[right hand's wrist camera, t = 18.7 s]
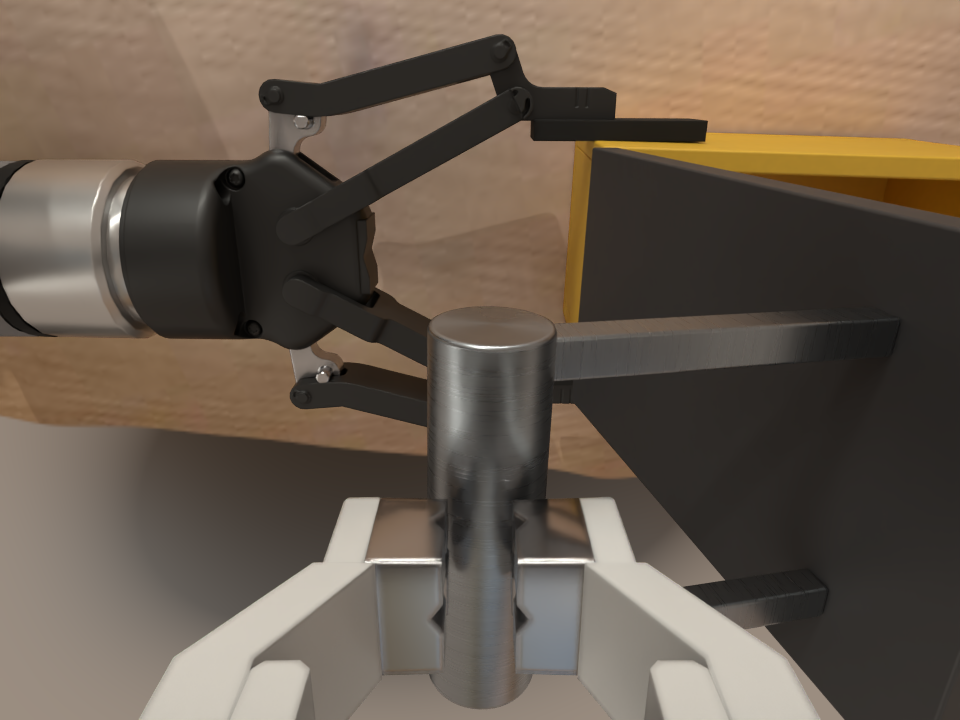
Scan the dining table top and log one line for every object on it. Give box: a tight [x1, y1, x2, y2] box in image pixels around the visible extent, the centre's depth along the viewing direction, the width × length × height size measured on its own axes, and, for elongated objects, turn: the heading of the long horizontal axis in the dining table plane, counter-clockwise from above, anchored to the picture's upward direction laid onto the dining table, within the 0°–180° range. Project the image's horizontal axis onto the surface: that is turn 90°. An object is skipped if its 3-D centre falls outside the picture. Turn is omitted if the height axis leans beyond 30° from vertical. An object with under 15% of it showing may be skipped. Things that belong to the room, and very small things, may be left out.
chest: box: [563, 133, 960, 323], centre depth 30 cm, size 16×9×11 cm, turn 88°
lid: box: [427, 147, 960, 720], centre depth 17 cm, size 16×9×9 cm
